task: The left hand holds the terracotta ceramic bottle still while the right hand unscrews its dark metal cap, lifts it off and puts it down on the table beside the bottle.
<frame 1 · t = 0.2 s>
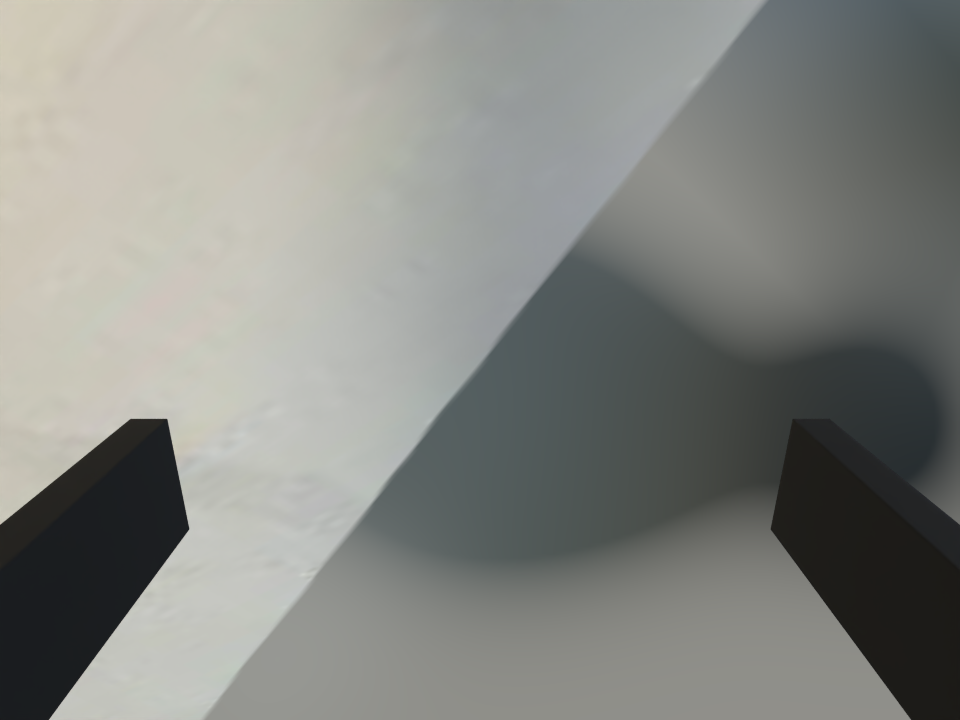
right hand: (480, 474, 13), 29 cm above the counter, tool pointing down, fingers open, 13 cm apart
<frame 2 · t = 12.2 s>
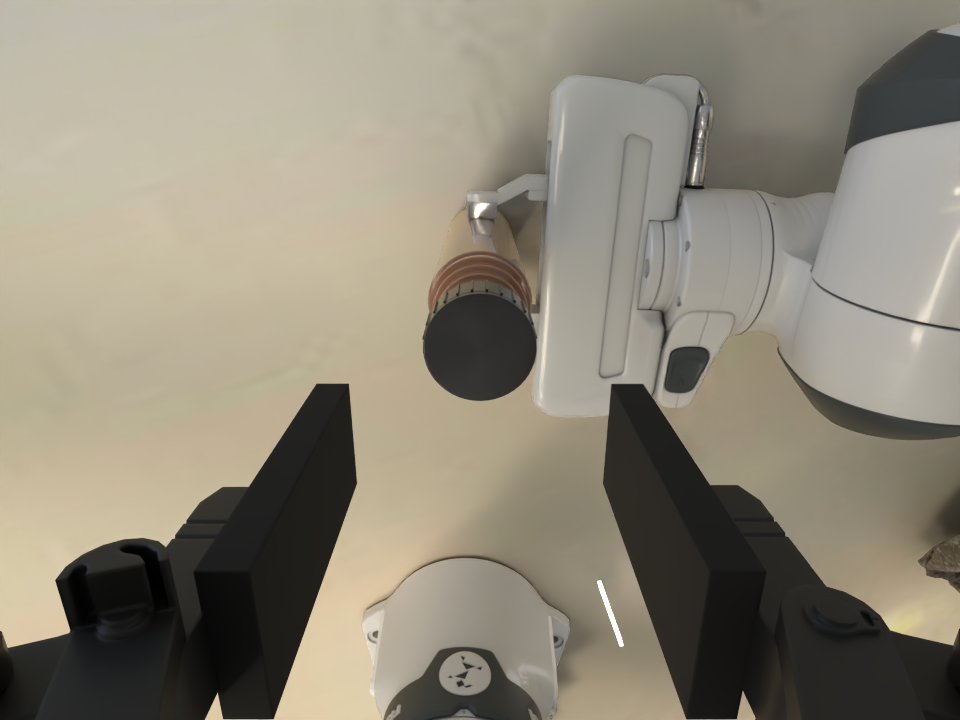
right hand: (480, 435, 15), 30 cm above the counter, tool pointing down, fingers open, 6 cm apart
left hand: (465, 254, 37), fingers closed on bottle, 4 cm apart
bottle: (479, 236, 43), on the counter, touching left hand
cap: (479, 346, 21), point 24 cm above the counter, screwed on, not yet turned
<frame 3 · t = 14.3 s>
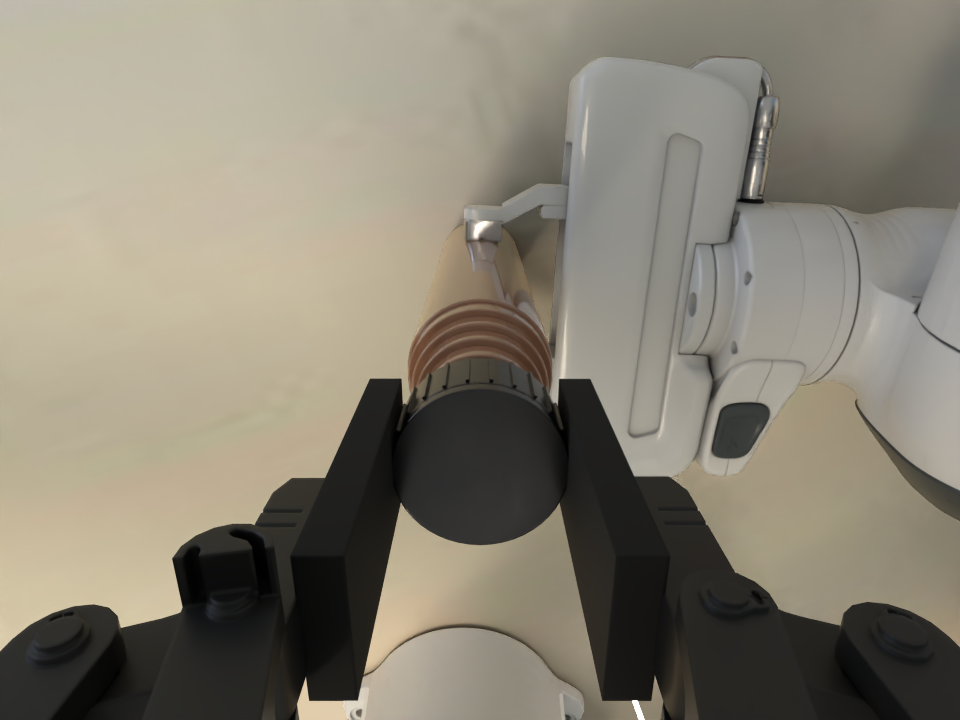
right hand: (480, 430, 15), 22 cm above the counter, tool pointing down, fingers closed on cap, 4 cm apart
left hand: (461, 283, 29), fingers closed on bottle, 4 cm apart
bottle: (480, 258, 36), on the counter, touching left hand
cap: (480, 464, 13), point 24 cm above the counter, screwed on, not yet turned, touching right hand
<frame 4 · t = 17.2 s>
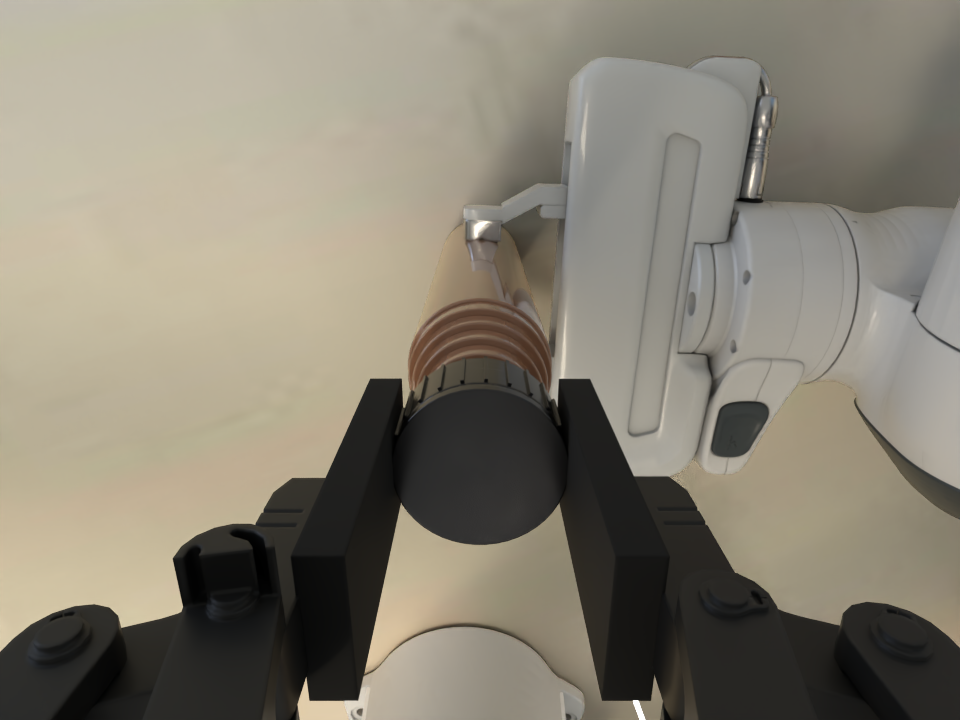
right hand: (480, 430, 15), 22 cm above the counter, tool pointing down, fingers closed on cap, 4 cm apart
left hand: (461, 283, 30), fingers closed on bottle, 4 cm apart
bottle: (479, 257, 36), on the counter, touching left hand
cap: (480, 464, 13), point 24 cm above the counter, turned 78° so far, risen 0.1 cm, still on its thread, touching right hand
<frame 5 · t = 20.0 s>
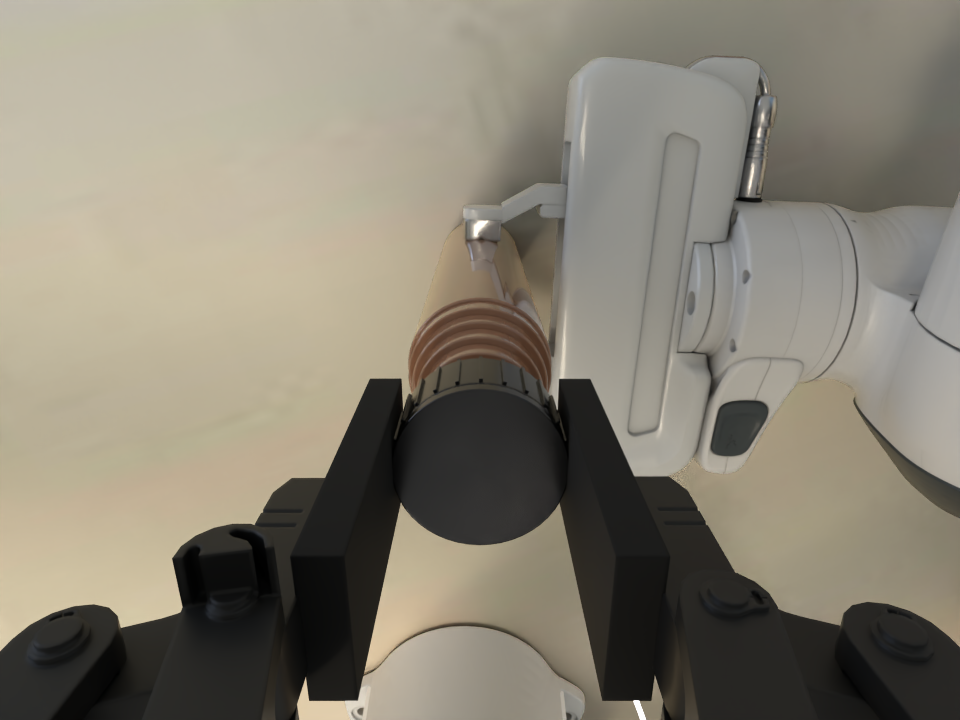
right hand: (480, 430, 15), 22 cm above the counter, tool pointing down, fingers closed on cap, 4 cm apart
left hand: (461, 283, 30), fingers closed on bottle, 4 cm apart
bottle: (479, 257, 36), on the counter, touching left hand
cap: (480, 464, 13), point 24 cm above the counter, turned 156° so far, risen 0.1 cm, still on its thread, touching right hand
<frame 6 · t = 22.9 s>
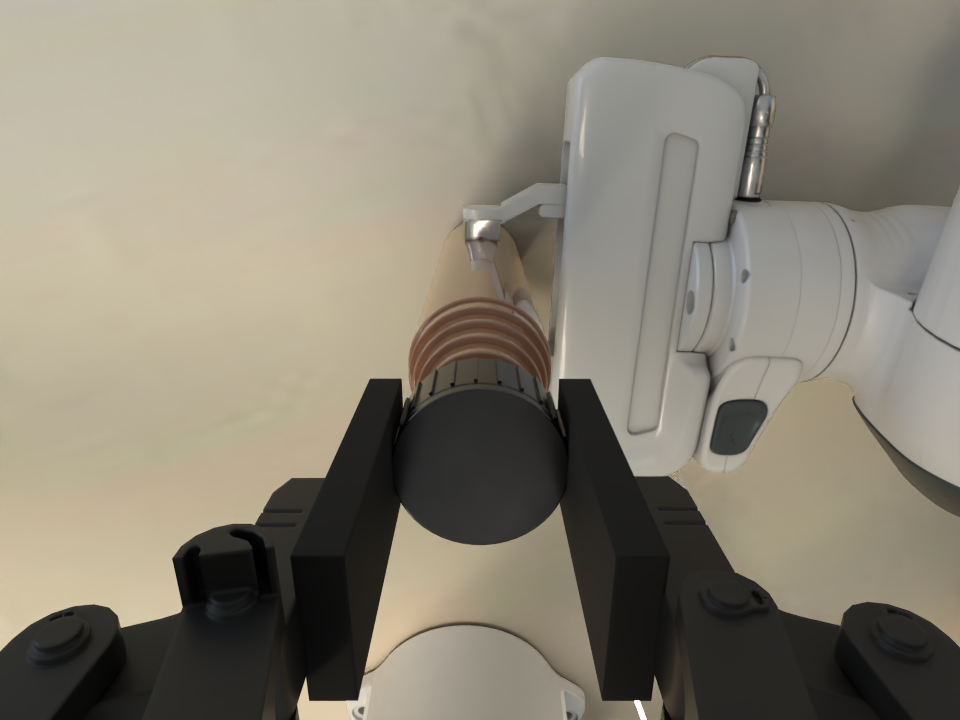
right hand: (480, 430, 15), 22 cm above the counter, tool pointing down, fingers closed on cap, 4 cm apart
left hand: (461, 282, 30), fingers closed on bottle, 4 cm apart
bottle: (479, 257, 36), on the counter, touching left hand
cap: (480, 464, 13), point 24 cm above the counter, turned 234° so far, risen 0.2 cm, still on its thread, touching right hand
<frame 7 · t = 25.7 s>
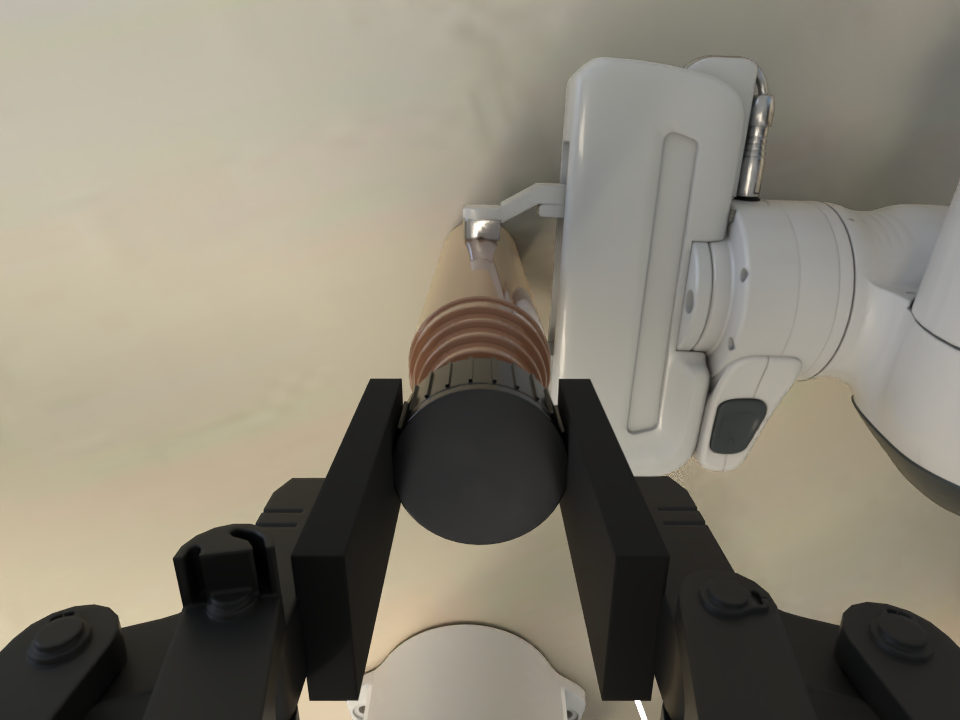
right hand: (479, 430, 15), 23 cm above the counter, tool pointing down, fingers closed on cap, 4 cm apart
left hand: (461, 282, 30), fingers closed on bottle, 4 cm apart
bottle: (479, 256, 36), on the counter, touching left hand
cap: (480, 464, 13), point 24 cm above the counter, turned 312° so far, risen 0.3 cm, still on its thread, touching right hand
when the right hand's fingers open (1 cm above the counter, at t = 34.9 s): cap stays where it is, point 2 cm above the counter.
when the left hand's fingers open (7 cm above the counter, at t = 36.2 s): bottle stays where it is, on the counter.
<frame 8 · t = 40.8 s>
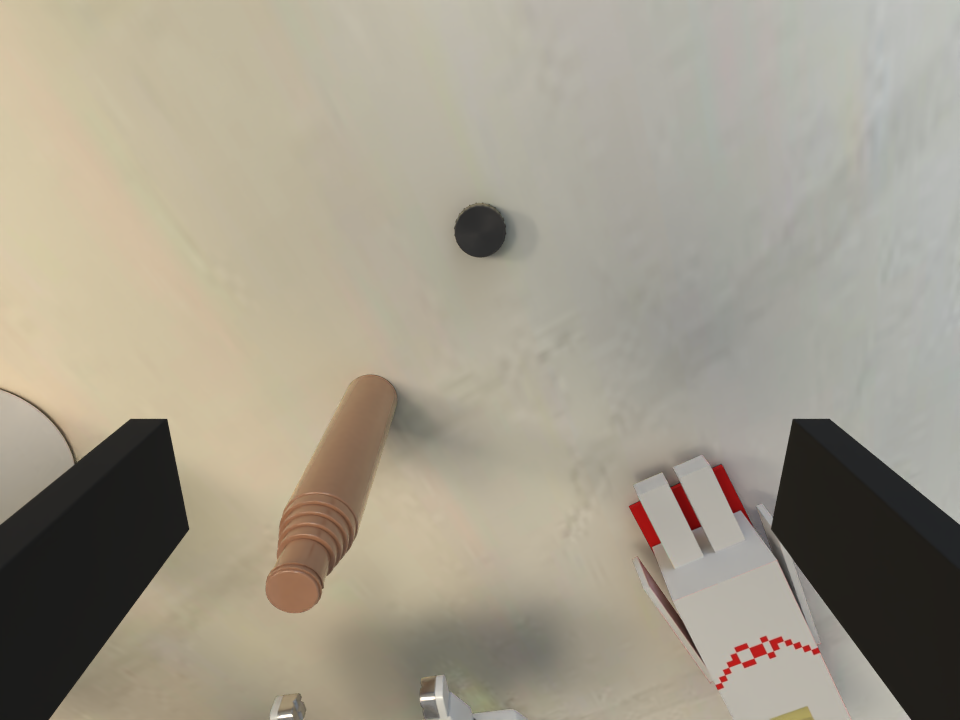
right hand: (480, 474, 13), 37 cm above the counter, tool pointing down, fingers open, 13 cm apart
toy: (713, 571, 59), on the counter
bottle: (371, 398, 53), on the counter
cap: (480, 231, 46), point 2 cm above the counter, off its thread
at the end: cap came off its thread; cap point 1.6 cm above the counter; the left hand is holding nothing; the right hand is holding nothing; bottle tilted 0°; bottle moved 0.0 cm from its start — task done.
